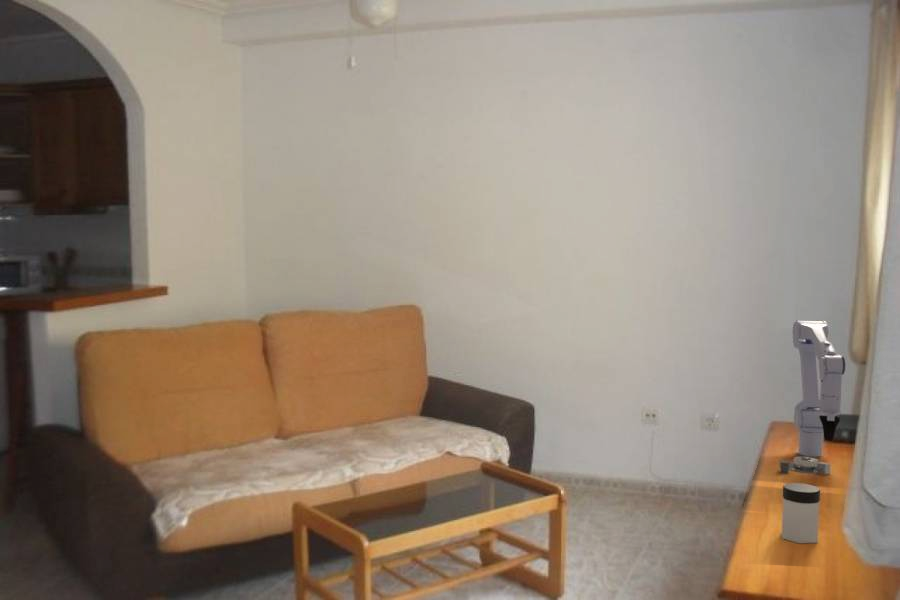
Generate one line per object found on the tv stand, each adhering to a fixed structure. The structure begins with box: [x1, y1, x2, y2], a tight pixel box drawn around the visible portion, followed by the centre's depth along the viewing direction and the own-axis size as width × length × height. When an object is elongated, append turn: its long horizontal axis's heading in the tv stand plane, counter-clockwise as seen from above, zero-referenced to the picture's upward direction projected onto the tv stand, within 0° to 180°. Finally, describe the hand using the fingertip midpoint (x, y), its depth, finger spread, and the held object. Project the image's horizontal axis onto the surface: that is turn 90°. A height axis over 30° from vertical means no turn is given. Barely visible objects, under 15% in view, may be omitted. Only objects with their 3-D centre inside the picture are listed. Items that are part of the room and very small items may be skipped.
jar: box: [781, 482, 821, 544], centre depth 214 cm, size 9×8×12 cm
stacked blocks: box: [779, 460, 790, 475], centre depth 269 cm, size 3×2×4 cm
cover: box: [793, 455, 819, 471], centre depth 274 cm, size 7×7×3 cm
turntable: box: [788, 461, 831, 475], centre depth 273 cm, size 13×14×4 cm
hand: (828, 440), depth 274 cm, fingers closed
